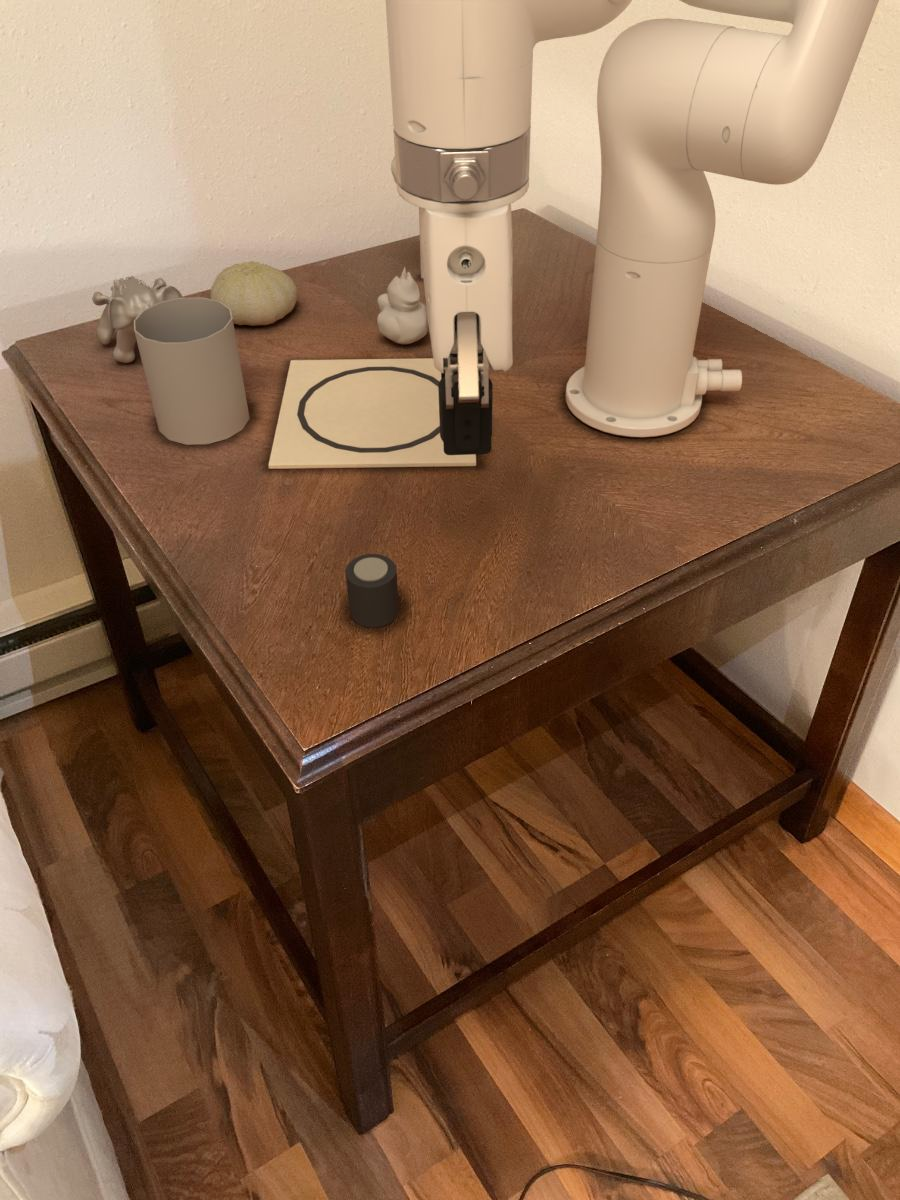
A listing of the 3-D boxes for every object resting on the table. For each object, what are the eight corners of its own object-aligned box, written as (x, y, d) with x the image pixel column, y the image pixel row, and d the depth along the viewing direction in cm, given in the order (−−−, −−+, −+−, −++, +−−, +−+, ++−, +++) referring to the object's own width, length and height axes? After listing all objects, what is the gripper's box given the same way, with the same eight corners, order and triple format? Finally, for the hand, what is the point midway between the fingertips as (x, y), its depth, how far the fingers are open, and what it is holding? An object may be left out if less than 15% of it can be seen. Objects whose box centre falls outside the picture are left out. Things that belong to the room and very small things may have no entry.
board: (470, 361, 99) (471, 356, 98) (476, 466, 86) (476, 461, 85) (291, 363, 99) (290, 359, 98) (268, 469, 86) (268, 464, 85)
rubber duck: (401, 358, 99) (398, 282, 94) (362, 334, 103) (356, 260, 97) (442, 340, 102) (441, 266, 96) (402, 318, 105) (399, 245, 100)
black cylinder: (490, 419, 69) (491, 367, 66) (493, 449, 67) (494, 396, 64) (439, 420, 69) (437, 368, 66) (440, 451, 67) (438, 398, 64)
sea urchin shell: (270, 265, 111) (286, 233, 103) (297, 331, 111) (315, 304, 104) (193, 285, 107) (203, 254, 100) (221, 353, 107) (233, 327, 100)
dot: (399, 593, 74) (397, 551, 71) (398, 627, 71) (395, 585, 68) (351, 594, 74) (346, 552, 71) (348, 628, 71) (343, 585, 68)
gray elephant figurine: (155, 320, 106) (139, 251, 100) (230, 356, 100) (217, 284, 95) (82, 354, 100) (61, 283, 95) (156, 394, 95) (138, 320, 90)
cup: (229, 449, 88) (210, 347, 81) (143, 439, 89) (116, 338, 82) (261, 399, 94) (245, 301, 87) (180, 391, 95) (158, 293, 88)
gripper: (543, 220, 49) (530, 507, 62) (518, 107, 61) (512, 368, 74) (392, 225, 49) (411, 511, 62) (397, 111, 61) (412, 371, 74)
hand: (466, 431), depth 68 cm, fingers closed on black cylinder, 3 cm apart
